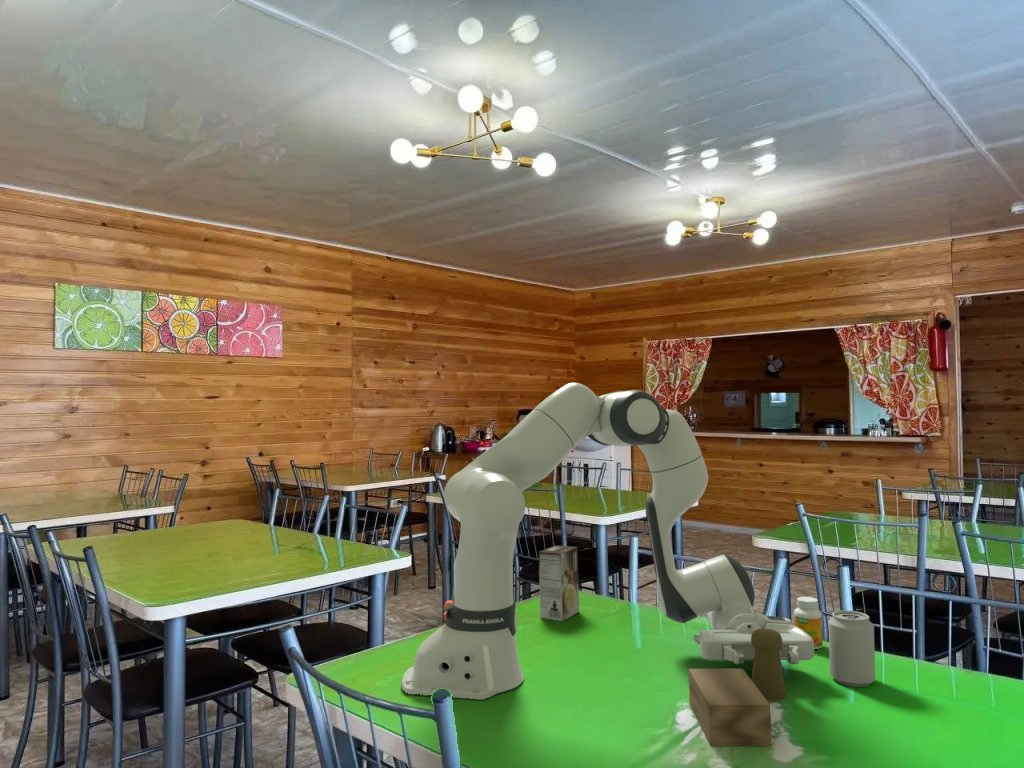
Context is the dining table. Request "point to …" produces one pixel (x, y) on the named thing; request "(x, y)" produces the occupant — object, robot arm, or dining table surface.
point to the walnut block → (729, 708)
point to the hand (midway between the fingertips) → (767, 659)
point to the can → (851, 648)
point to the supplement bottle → (809, 619)
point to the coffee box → (558, 582)
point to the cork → (768, 664)
